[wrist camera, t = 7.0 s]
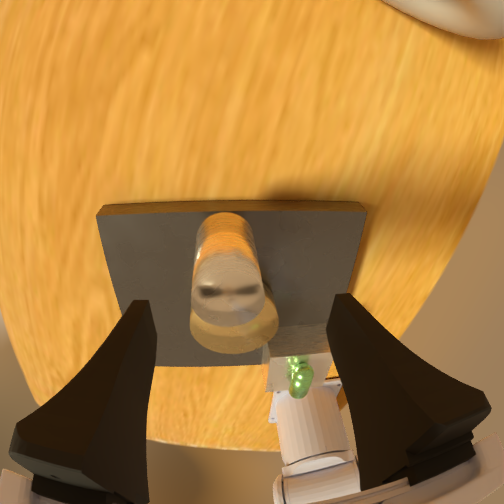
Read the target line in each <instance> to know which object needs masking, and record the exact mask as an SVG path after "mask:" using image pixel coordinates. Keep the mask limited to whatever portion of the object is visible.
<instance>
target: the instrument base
mask: <svg viewBox="0 0 504 504" xmlns="http://www.w3.org/2000/svg"><path fill="white" fill-rule="evenodd" d="M221 212H229V213H234V214H237V215H239V216H241V217H243V218H244V219H245V220H246V221H247V222H248V223H249V224H250V226H251V228H252V232H253V237H254V242H255V247H256V252H257V257H258V262H259V268H260V273H261V278H262V282H263V283H265V284H266V285H267V286H268V287H269V288H270V290H271V291H272V294H273V296H274V300H275V305H276V309H277V314H278V318H279V326H278V329H277V332H276V334H275V335H274V337H273V338H272V339H271V340H270V341H269V342H268V343H266V344H265V345H263V346H262V347H260V348H258V349H256V350H253V351H250V352H246V353H240V354H224V353H219V352H215V351H212V350H209V349H207V348H205V347H203V346H202V345H201V344H199V343H198V342H197V341H196V340H195V339H194V337H193V335H192V334H191V331H190V312H191V292H192V280H193V269H194V258H195V248H196V238H197V231H198V228H199V226H200V225H201V223H202V222H203V221H204V220H205V219H206V218H208V217H209V216H211V215H213V214H216V213H221ZM366 214H367V211H366V210H365V209H364V208H363V207H362V206H361V205H360V203H359V202H342V201H297V200H228V201H184V202H156V203H135V204H117V205H103V206H102V208H101V209H100V211H99V212H98V213H97V215H96V219H97V224H98V229H99V233H100V237H101V242H102V246H103V250H104V254H105V258H106V262H107V266H108V269H109V273H110V277H111V280H112V284H113V287H114V291H115V294H116V297H117V301H118V304H119V307H120V310H121V313H122V316H123V314H124V313H125V311H126V310H127V308H128V307H129V305H130V304H131V302H132V301H133V300H149V303H150V308H151V312H152V316H153V320H154V324H155V328H156V332H157V351H156V362H155V366H170V367H207V366H240V365H260V364H261V366H262V373H263V380H264V387H265V392H274V391H286V390H289V394H290V395H291V397H293V398H295V399H302V398H304V397H305V396H306V395H307V393H308V391H309V388H313V387H321V386H323V384H324V381H325V379H326V376H327V374H328V371H329V369H330V366H331V363H332V361H333V357H332V355H331V352H330V347H329V343H328V339H327V334H326V326H327V323H328V319H329V316H330V312H331V309H332V305H333V301H334V298H335V294H343V293H346V292H347V289H348V285H349V282H350V278H351V274H352V271H353V267H354V263H355V259H356V256H357V252H358V248H359V244H360V240H361V236H362V232H363V227H364V223H365V219H366Z"/></svg>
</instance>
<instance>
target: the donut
mask: <svg viewBox="0 0 504 504" xmlns="http://www.w3.org/2000/svg"><path fill="white" fill-rule="evenodd" d="M382 1H384V2H385V3H387V4H389V5H391V6H393V7H394V8H396V9H398V10H400V11H401V12H403V13H406V14H408V15H410V16H412V17H414V18H416V19H418V20H420V21H422V22H425V23H427V24H430V25H432V26H435V27H437V28H439V29H442V30H445V31H449V32H452V33H455V34H458V35H461V36H466V37H471V38H475V39H480V40H482V39H501V38H503V37H504V0H382Z"/></svg>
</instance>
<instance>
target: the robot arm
mask: <svg viewBox="0 0 504 504" xmlns="http://www.w3.org/2000/svg"><path fill="white" fill-rule="evenodd" d="M326 334H327V339H328V343H329V347H330V352H331V355H332V357H333V360H334V363H335V366H336V369H337V372H338V374H339V377H340V378H336V379H329V380H325V381H324V384H323V386H321V387H313V388H309V391H308V393H307V395H306V396H305V397H304V398H302V399H295V398H293V397H291V395H290V394H289V390H286V391H274V393H273V399H272V404H271V409H270V414H269V419H268V421H269V423H277V429H278V436H279V442H280V448H281V454H282V459H283V462H284V463H285V467H282V472H283V474H280V475H278V476H277V478H276V480H275V481H274V483H273V495H274V503H275V504H477V503H479V502H480V501H481V500H483V499H484V498H486V497H487V496H488V495H490V494H491V493H493V492H494V491H496V490H497V489H498V488H500V487H501V486H502V485H504V449H503V447H502V444H501V442H500V440H499V438H498V435H497V433H493V434H491V435H489V436H488V437H486V438H484V439H482V440H480V441H479V442H477V443H475V444H474V445H472V443H471V440H472V439H473V438H474V436H473V433H472V430H473V429H474V428H475V427H476V426H477V425H478V424H480V423H481V422H482V421H483V420H484V419H485V418H486V417H487V416H488V415H489V413H490V412H491V406H490V404H489V402H488V400H487V398H486V396H485V394H484V392H483V391H481V390H478V389H476V388H474V387H471V386H469V385H466V384H464V383H462V382H460V381H458V380H456V379H454V378H452V377H450V376H448V375H447V374H445V373H443V372H441V371H440V370H438V369H436V368H435V367H433V366H432V365H430V364H428V363H427V362H426V361H424V360H423V359H421V358H420V357H419V356H417V355H416V354H414V353H413V352H412V351H411V350H409V349H408V348H407V347H406V346H404V345H403V344H402V343H401V342H400V341H399V340H397V339H396V338H395V337H394V336H393V335H392V334H391V333H390V332H389V331H387V330H386V329H385V328H384V327H383V326H382V325H381V324H380V323H379V322H378V321H377V320H376V319H375V318H374V317H373V316H372V315H371V314H370V313H369V312H368V311H367V310H366V309H365V308H364V307H363V306H362V305H361V304H360V303H359V302H358V301H357V300H356V299H355V298H354V297H353V296H352V295H351V294H350V293H343V294H335V298H334V301H333V305H332V309H331V312H330V316H329V319H328V323H327V326H326ZM156 351H157V332H156V328H155V324H154V320H153V316H152V312H151V308H150V303H149V300H133V301H132V302H131V304H130V305H129V307H128V308H127V310H126V311H125V313H124V314H123V316H122V317H121V319H120V320H119V321H118V323H117V324H116V326H115V327H114V329H113V330H112V331H111V333H110V334H109V336H108V337H107V338H106V340H105V341H104V343H103V344H102V345H101V346H100V348H99V349H98V350H97V351H96V353H95V354H94V355H93V357H92V358H91V359H90V360H89V361H88V363H87V364H86V365H85V366H84V367H83V368H82V369H81V370H80V372H79V373H78V374H77V375H76V376H75V377H74V378H73V379H72V380H71V381H70V382H69V383H68V384H67V385H66V386H65V387H64V388H63V389H62V390H60V391H59V392H58V393H57V394H56V395H55V396H53V397H52V398H51V399H50V400H49V401H47V402H46V403H45V404H44V405H42V406H41V407H40V408H39V409H37V410H36V411H34V412H33V413H32V414H30V415H28V416H27V417H26V418H24V419H22V420H21V421H19V422H18V423H17V424H16V427H15V429H14V433H13V437H12V440H11V445H10V449H9V455H10V457H11V458H12V459H13V460H14V461H15V462H17V463H18V464H20V465H21V466H23V467H24V468H26V469H27V470H29V471H30V472H32V473H33V474H34V477H33V480H32V479H30V478H27V477H25V476H23V475H20V474H17V473H15V472H12V471H9V470H7V469H5V468H4V469H3V470H2V475H1V480H0V504H148V503H149V502H150V501H149V492H148V480H147V462H146V424H147V410H148V402H149V396H150V390H151V384H152V379H153V373H154V367H155V362H156ZM342 386H343V388H344V391H345V394H346V397H347V401H348V404H349V409H350V413H351V418H352V423H353V429H354V434H355V440H356V447H357V455H356V456H355V457H354V453H353V450H351V449H350V445H349V441H348V438H347V434H346V431H345V427H344V424H343V420H342V417H341V413H340V410H339V407H338V403H337V400H336V397H337V395H338V393H339V391H340V389H341V387H342ZM355 460H356V461H355Z"/></svg>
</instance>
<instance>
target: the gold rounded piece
mask: <svg viewBox="0 0 504 504" xmlns="http://www.w3.org/2000/svg"><path fill="white" fill-rule="evenodd" d="M278 326H279V318H278V314H277V309H276V305H275V300H274V296H273V294H272V291H271V290H270V288H269V287H268V286H267V285H266V284H265V283H263V282H262V278H261V273H260V268H259V262H258V257H257V252H256V247H255V242H254V237H253V232H252V228H251V226H250V224H249V223H248V222H247V221H246V220H245V219H244V218H243V217H241V216H239V215H237V214H234V213H229V212H221V213H216V214H213V215H211V216H209V217H208V218H206V219H205V220H204V221H203V222H202V223H201V225H200V226H199V228H198V231H197V238H196V248H195V258H194V269H193V280H192V292H191V312H190V331H191V334H192V335H193V337H194V339H195V340H196V341H197V342H198V343H199V344H201V345H202V346H203V347H205V348H207V349H209V350H212V351H215V352H219V353H224V354H240V353H246V352H250V351H253V350H256V349H258V348H260V347H262V346H263V345H265V344H266V343H268V342H269V341H270V340H271V339H272V338H273V337H274V335H275V334H276V332H277V329H278Z"/></svg>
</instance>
